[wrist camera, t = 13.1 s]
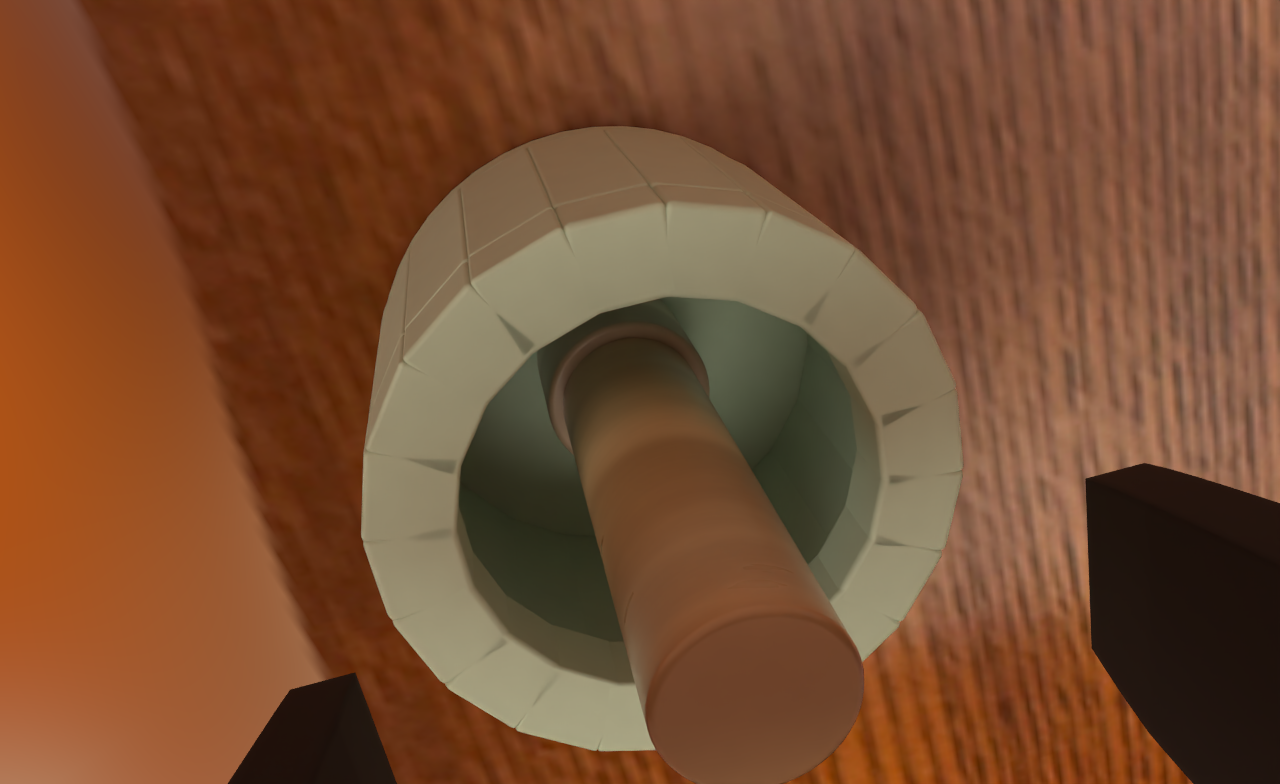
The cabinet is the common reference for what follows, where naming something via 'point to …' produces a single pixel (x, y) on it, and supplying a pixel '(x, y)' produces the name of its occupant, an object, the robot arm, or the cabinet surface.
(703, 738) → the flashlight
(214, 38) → the cabinet surface
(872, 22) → the cabinet surface
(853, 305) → the jar
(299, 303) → the cabinet surface
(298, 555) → the cabinet surface
